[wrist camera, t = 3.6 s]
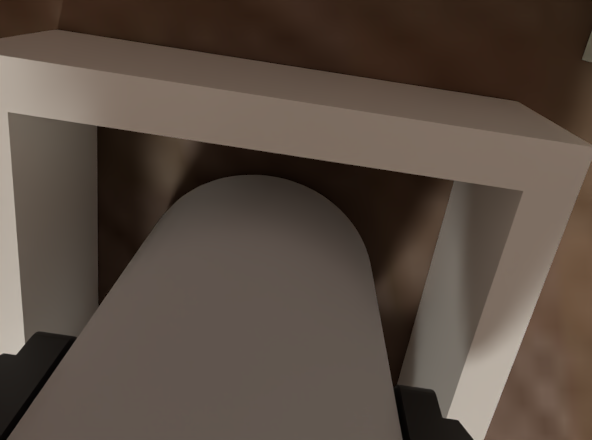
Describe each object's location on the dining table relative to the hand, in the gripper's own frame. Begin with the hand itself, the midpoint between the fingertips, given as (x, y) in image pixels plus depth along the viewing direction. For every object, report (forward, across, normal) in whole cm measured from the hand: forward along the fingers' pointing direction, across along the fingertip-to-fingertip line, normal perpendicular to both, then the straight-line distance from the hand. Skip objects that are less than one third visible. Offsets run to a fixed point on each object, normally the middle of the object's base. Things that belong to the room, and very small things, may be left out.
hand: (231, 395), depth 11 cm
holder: (+5, 0, 0) cm, 5 cm away
